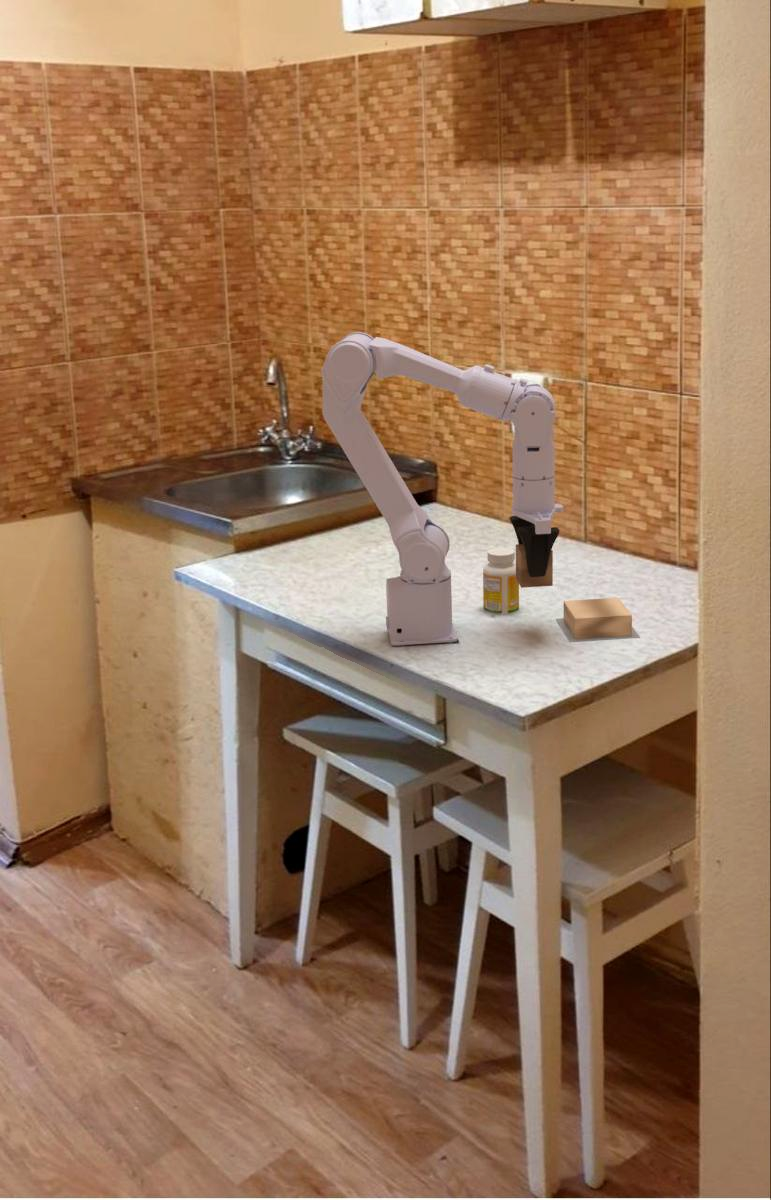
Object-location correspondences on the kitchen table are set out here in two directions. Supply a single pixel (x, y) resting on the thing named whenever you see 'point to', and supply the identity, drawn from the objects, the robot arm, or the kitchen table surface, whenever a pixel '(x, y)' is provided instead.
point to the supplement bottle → (500, 583)
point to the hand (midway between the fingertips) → (534, 570)
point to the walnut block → (523, 573)
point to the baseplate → (572, 639)
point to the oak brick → (597, 618)
